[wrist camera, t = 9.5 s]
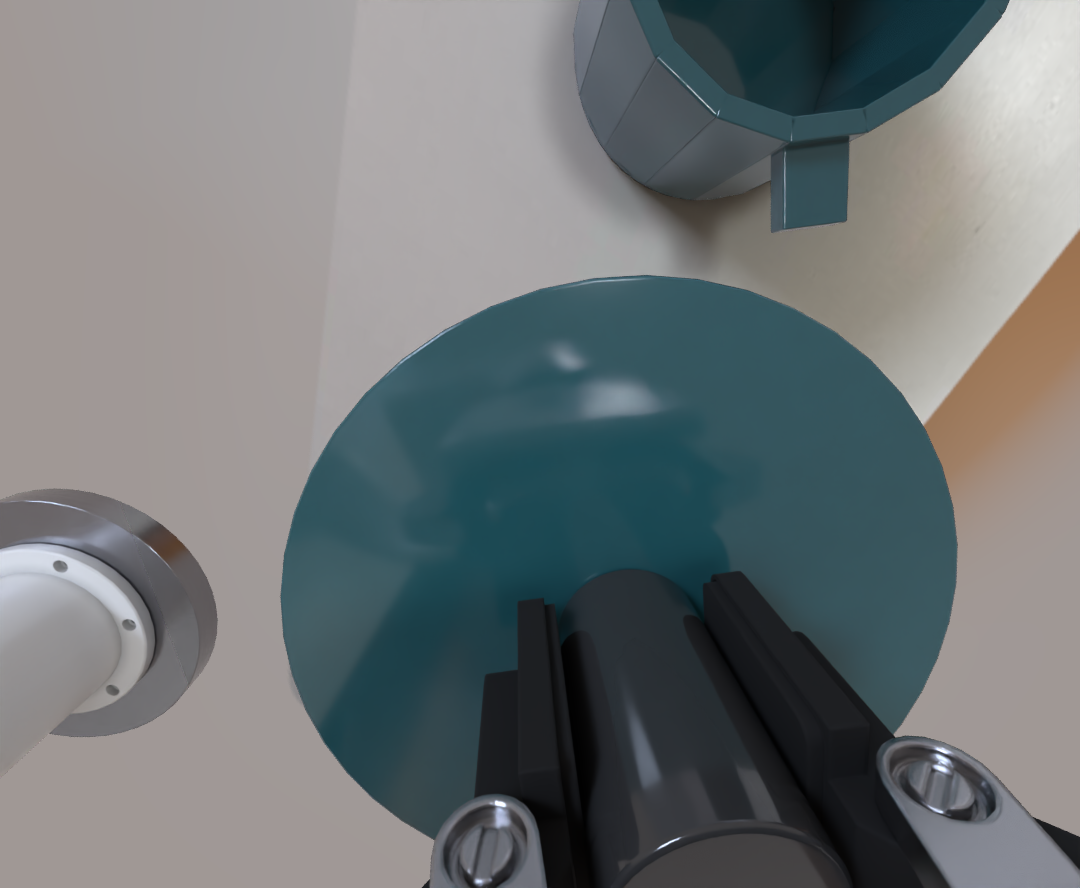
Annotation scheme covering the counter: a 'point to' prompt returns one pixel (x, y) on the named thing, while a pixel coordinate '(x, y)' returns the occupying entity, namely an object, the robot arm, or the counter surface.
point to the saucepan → (762, 89)
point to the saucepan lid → (619, 561)
